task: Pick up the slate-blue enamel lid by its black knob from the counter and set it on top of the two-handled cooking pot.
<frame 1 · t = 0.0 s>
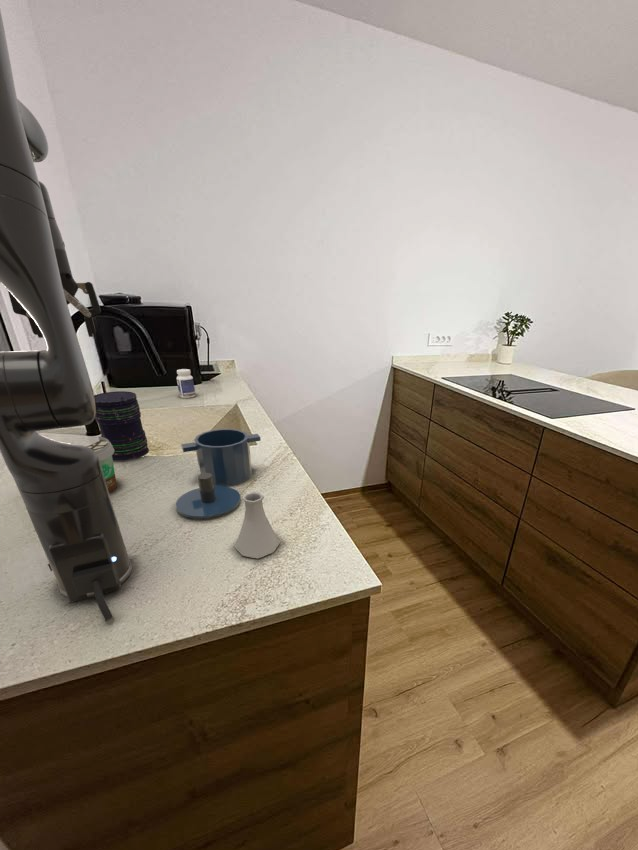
hand: (67, 336, 80), 29 cm above the worktop, tool pointing down, fingers open, 8 cm apart
pot lid: (209, 501, 79), point 1 cm above the worktop
pill bottle: (187, 396, 148), on the worktop
flask: (258, 547, 68), on the worktop
two-handled cooking pot: (226, 475, 91), on the worktop
storage jar: (128, 454, 100), on the worktop
food container: (103, 492, 82), on the worktop
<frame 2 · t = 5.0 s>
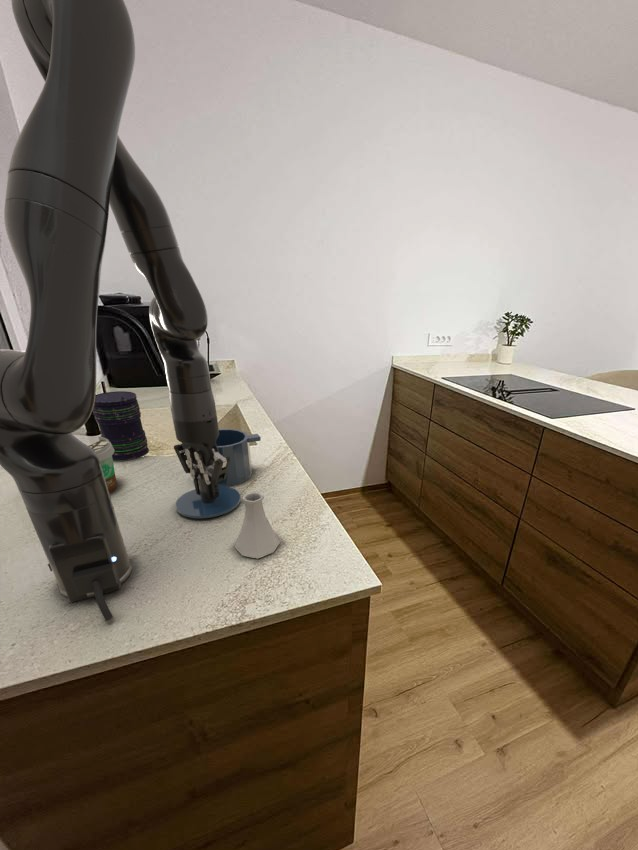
hand: (208, 495, 78), 2 cm above the worktop, tool pointing down, fingers closed on pot lid, 3 cm apart
pot lid: (209, 501, 79), point 1 cm above the worktop, touching gripper
everything else where it was.
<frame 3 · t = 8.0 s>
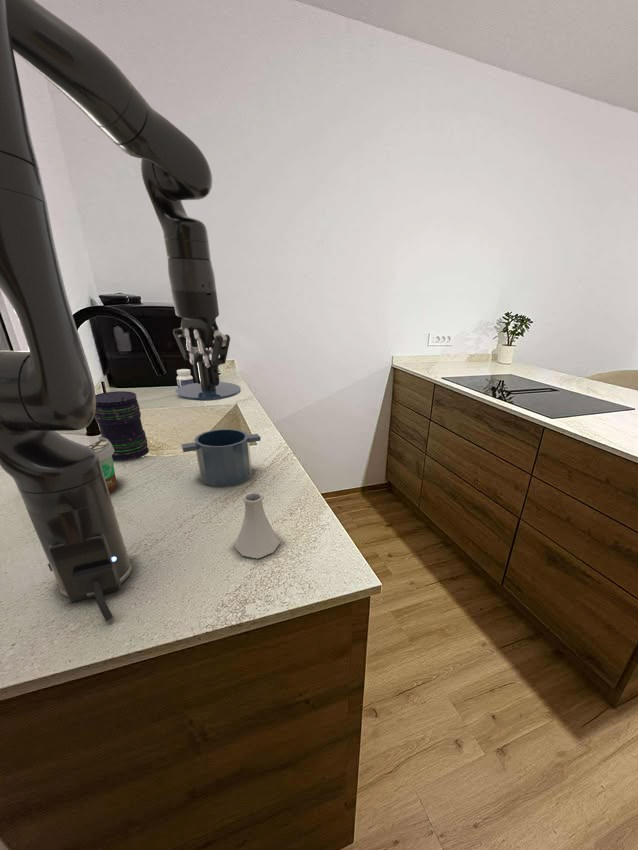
hand: (207, 384, 77), 22 cm above the worktop, tool pointing down, fingers closed on pot lid, 3 cm apart
pot lid: (209, 391, 78), point 21 cm above the worktop, touching gripper
everything else where it was.
when the fingers open (11 cm above the worktop, at t = 11.2 s): pot lid stays where it is, resting on two-handled cooking pot.
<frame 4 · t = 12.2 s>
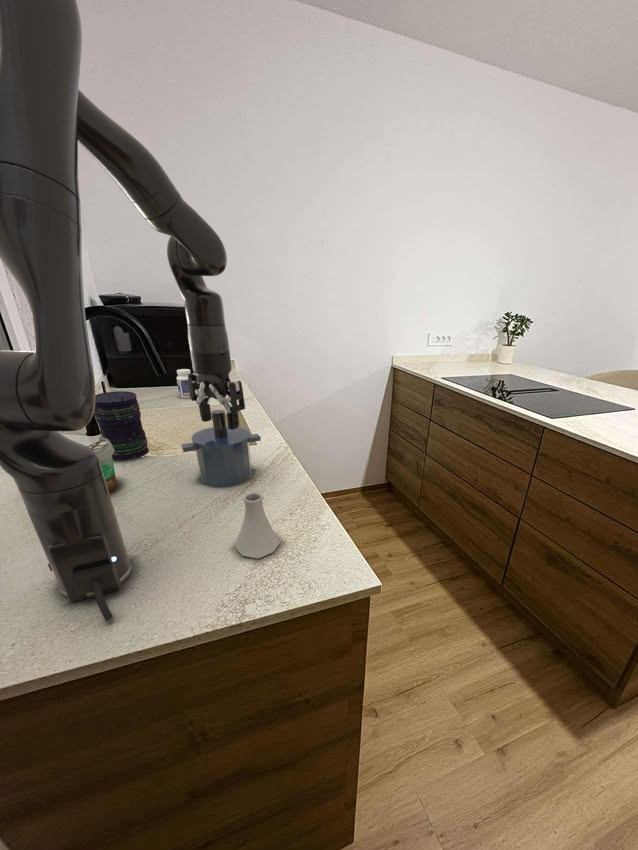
hand: (220, 424, 85), 13 cm above the worktop, tool pointing down, fingers open, 8 cm apart
pot lid: (221, 437, 87), point 9 cm above the worktop, touching two-handled cooking pot
everything else where it was.
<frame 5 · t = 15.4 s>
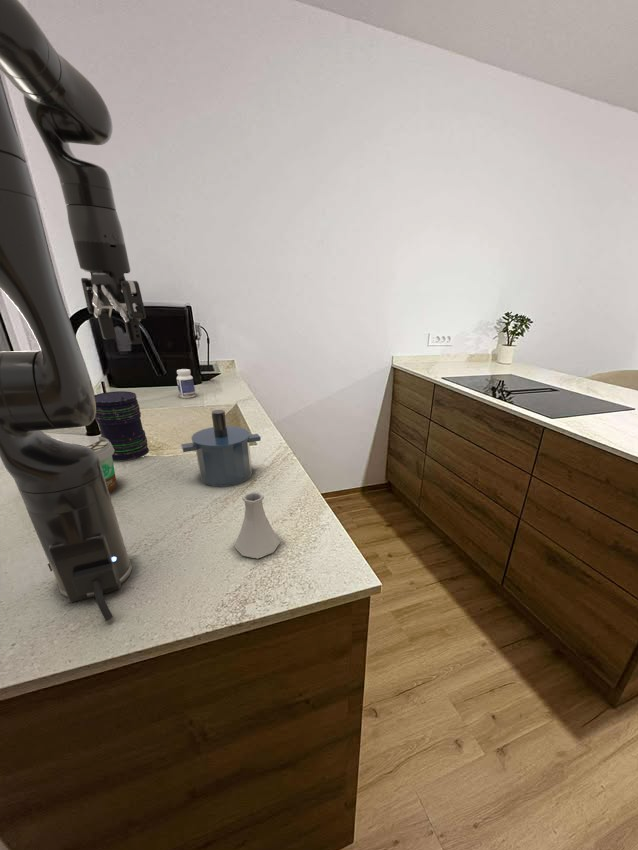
hand: (122, 341, 73), 30 cm above the worktop, tool pointing down, fingers open, 8 cm apart
nothing on the worktop moved.
at the end: pot lid 0.1 cm off-centre on the two-handled cooking pot, point 9.5 cm above the two-handled cooking pot's base; pot lid tilted 0°; the gripper is holding nothing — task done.
